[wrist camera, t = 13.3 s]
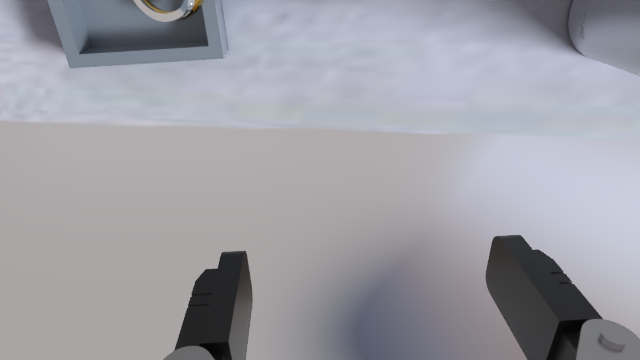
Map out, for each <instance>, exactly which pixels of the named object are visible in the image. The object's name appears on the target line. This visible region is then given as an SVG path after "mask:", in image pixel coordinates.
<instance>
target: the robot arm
mask: <svg viewBox="0 0 640 360" xmlns="http://www.w3.org/2000/svg"><path fill="white" fill-rule="evenodd" d="M568 27H569V35H570V38H571V41H572V43H573V45H574V46H575V48H576V49H577V50H578V51H579V52H580V53H581V54H583V55H584V56H586V57H589V58H591V59H594V60H597V61H599V62H602V63H605V64H608V65H611V66H614V67H616V68H619V69H621V70H624V71H627V72H630V73H633V74H636V75H638V76H640V0H573V2H572V5H571V8H570V12H569V20H568ZM486 283H487V287H488V290H489V292H490V294H491V296H492V298H493V299H494V301H495V303H496V305H497V307H498V308H499V310H500V312H501V314H502V315H503V317H504V319H505V321H506V322H507V324H508V326H509V328H510V329H511V331H512V333H513V335H514V336H515V338H516V340H517V342H518V343H519V345H520V347H521V349H522V351H523V352H524V354H525V356H526V358H527V359H528V360H640V339H639V338H638V337H637V336H636V335H635V334H634V333H633V332H632V331H630V330H629V329H627V328H626V327H624V326H622V325H620V324H618V323H615V322H613V321H609V320H604V319H603V318H602V317H601V316H600V315H599V314H598V312H597V311H596V310H595V309H594V308H593V306H592V305H591V304H590V303H589V302H588V301H587V299H586V298H585V297H584V296H583V295H582V293H581V292H580V291H579V290H578V289H577V287H576V286H575V285H574V284H572V283H571V280H570V279H569V278H568V277H567V275H566V274H564V273H563V271H562V269H561V268H560V267H559V266H558V265H557V263H556V262H555V261H554V260H553V259H551V258H550V257H549V256H547V255H546V254H544V253H543V252H541V251H540V250H532V248H531V247H530V246H529V245H528V243H527V242H526V241H525V240H524V238H523V237H522V236H520V235H509V236H496V237H494V239H493V241H492V245H491V250H490V255H489V260H488V265H487V270H486ZM188 306H189V307H188V308H187V311H186V314H185V318H184V321H183V324H182V327H181V331H180V334H179V337H178V341H177V344H176V347H175V350H174V351H173V352H172V353H171V354H169V355H168V356H167V357H166V358H164V360H246V352H247V344H248V335H249V327H250V318H251V310H252V285H251V279H250V272H249V265H248V259H247V254H246V251H234V252H222V254H221V257H220V261H219V265H218V269H206V270H205V271H204V272H203V273H202V274H201V275H200V277H199V278H198V279H197V280H196V281H195V285H194V288H193V291H192V297H191V298H190V301H189V304H188Z"/></svg>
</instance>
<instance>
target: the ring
mask: <svg viewBox="0 0 640 360" xmlns="http://www.w3.org/2000/svg"><path fill="white" fill-rule="evenodd" d="M133 1H134V2H135V3H136V5H137V6H138V7H139V8H140V9H141V10H142V11H143V12H144V13H145V14H146V15H148V16H149V17H151V18H153V19H155V20H157V21H162V22H174V21H183V20H186V19H188V18H190V17H191V16H193V15H194V14H195V13H196V12H197V11H198V10H199V8H200V7H201V5H202V3H203V1H204V0H184V2H183V4H182V6H181V7H180V8H179V9H178V10H176V11H172V12H168V11H164V10H162V9H160V8H158V7H156V6H155V5H153V4H152V3H151V2H150V1H149V0H133Z"/></svg>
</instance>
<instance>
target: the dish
mask: <svg viewBox="0 0 640 360" xmlns="http://www.w3.org/2000/svg"><path fill="white" fill-rule="evenodd" d="M47 1H48V4H49V7H50V10H51V13H52V16H53V19H54V22H55V25H56V28H57V31H58V34H59V37H60V40H61V43H62V46H63V49H64V52H65V55H66V58H67V61H68V64H69V67H70V68H81V67H96V66H112V65H128V64H144V63H159V62H175V61H191V60H206V59H222V58H224V57H225V55H226V53H227V51H228V44H227V37H226V30H225V23H224V16H223V10H222V3H221V0H204V1H203V3H202V5H201V7H200V8H199V10H198V11H197V12H196V13H195V14H194V15H193V16H191V17H190V18H188V19H186V20H183V21H174V22H162V21H157V20H155V19H153V18H151V17H149V16H148V15H146V14H145V13H144V12H143V11H142V10H141V9H140V8H139V7H138V6H137V5H136V3H135V2H134V1H133V0H47ZM149 1H150V2H151V3H152V4H153V5H155V6H156V7H158V8H160V9H162V10H164V11H168V12H172V11H176V10H178V9H179V8H180V7H181V6H182V4H183V2H184V0H149Z"/></svg>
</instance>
